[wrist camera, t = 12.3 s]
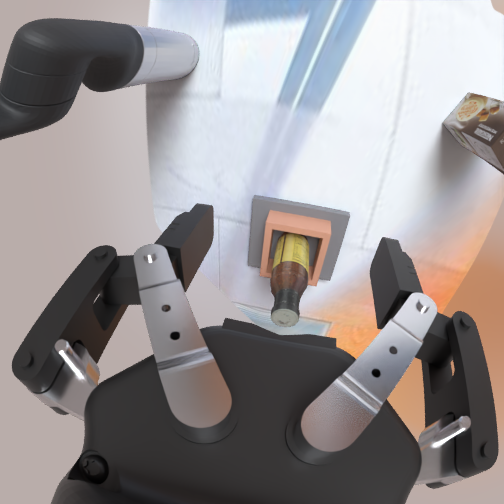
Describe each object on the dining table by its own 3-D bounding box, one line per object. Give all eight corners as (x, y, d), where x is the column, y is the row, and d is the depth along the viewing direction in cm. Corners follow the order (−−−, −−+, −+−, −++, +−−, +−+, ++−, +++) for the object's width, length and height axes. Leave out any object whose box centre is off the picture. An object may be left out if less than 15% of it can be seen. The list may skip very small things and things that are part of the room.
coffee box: (462, 147, 36) (509, 182, 23) (441, 122, 35) (488, 148, 22) (488, 116, 31) (540, 141, 18) (468, 90, 29) (522, 105, 17)
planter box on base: (249, 261, 61) (243, 279, 57) (254, 195, 52) (247, 209, 47) (329, 276, 59) (329, 295, 55) (349, 212, 50) (352, 228, 45)
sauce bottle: (286, 258, 57) (271, 336, 41) (272, 234, 54) (251, 310, 39) (316, 248, 54) (311, 328, 39) (303, 223, 51) (293, 300, 36)
